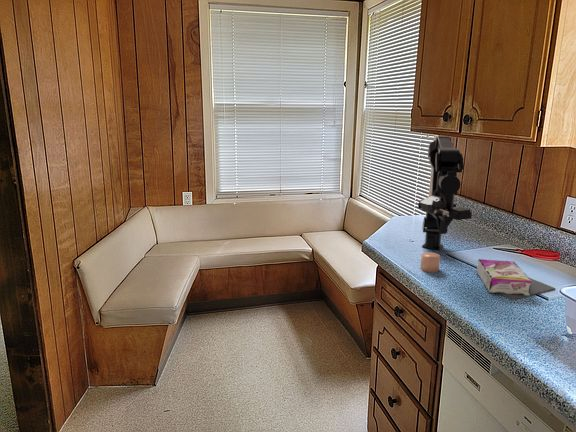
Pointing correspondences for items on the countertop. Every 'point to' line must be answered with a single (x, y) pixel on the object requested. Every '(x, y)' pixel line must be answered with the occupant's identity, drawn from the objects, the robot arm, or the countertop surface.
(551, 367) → the countertop surface
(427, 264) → the tan short cylinder
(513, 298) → the mat
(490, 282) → the candy bar box
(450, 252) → the countertop surface
